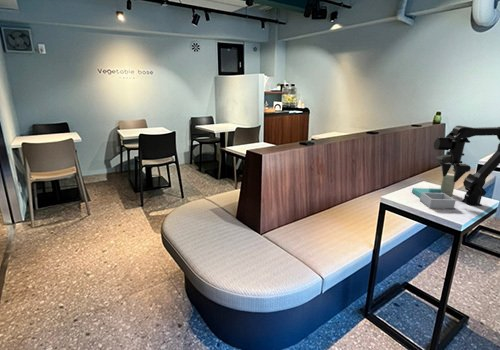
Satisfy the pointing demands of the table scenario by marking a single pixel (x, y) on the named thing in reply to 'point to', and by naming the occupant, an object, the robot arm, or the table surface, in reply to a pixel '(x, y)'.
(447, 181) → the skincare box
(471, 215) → the table surface
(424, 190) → the lid
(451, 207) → the tub
